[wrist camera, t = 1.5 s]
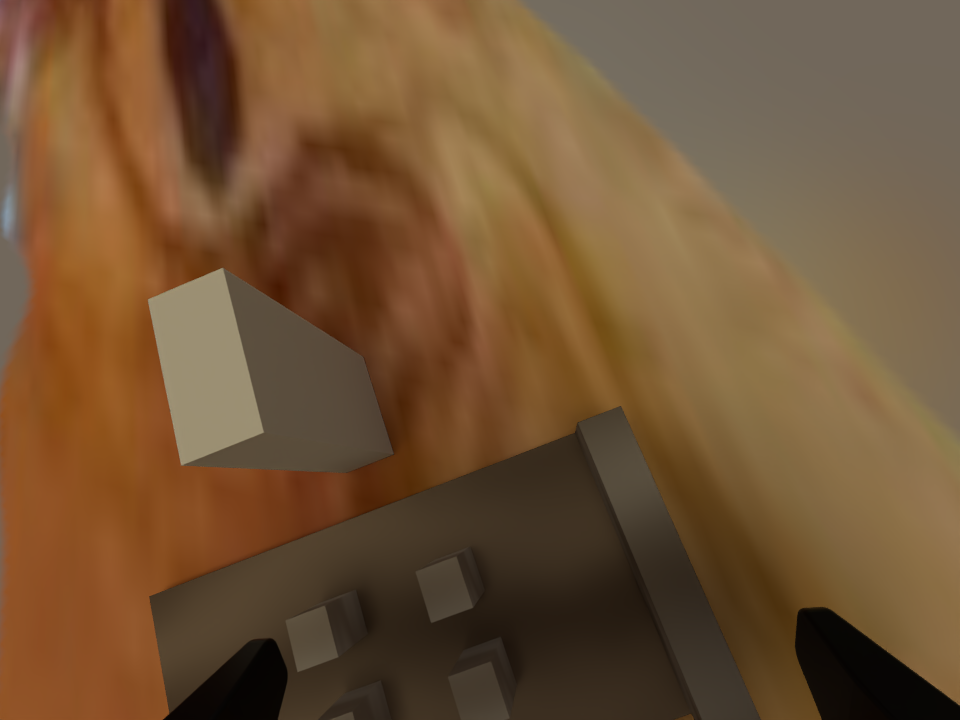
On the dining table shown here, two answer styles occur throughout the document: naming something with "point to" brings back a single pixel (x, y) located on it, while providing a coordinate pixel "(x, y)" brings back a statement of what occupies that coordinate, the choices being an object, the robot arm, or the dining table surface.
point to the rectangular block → (261, 383)
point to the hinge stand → (478, 602)
